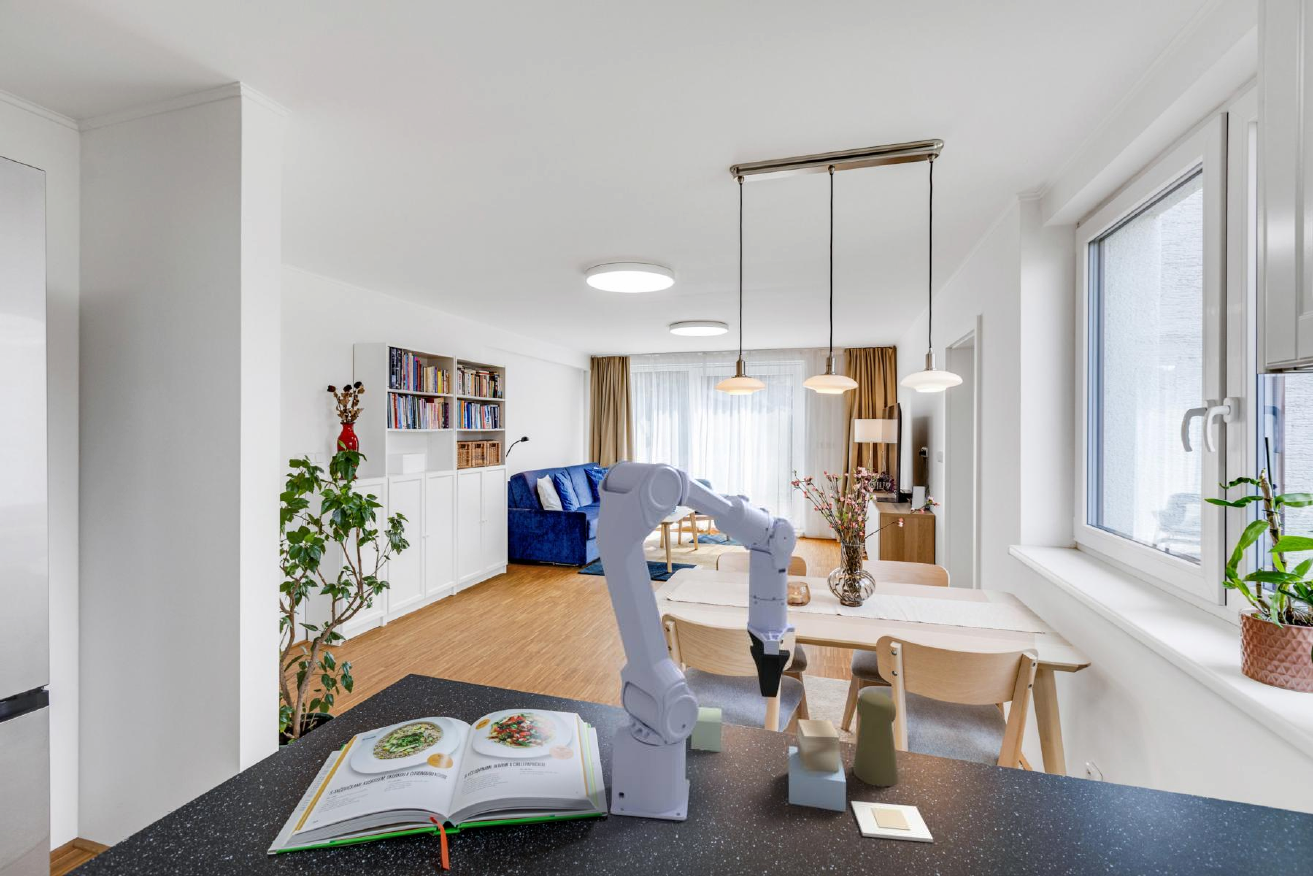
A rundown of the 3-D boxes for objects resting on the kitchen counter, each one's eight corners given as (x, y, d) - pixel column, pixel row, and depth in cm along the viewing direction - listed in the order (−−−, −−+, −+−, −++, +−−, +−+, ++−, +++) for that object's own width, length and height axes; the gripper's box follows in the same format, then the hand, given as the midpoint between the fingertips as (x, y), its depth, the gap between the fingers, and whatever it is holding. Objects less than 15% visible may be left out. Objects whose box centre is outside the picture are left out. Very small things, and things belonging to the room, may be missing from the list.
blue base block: (788, 805, 73) (789, 774, 73) (788, 774, 80) (789, 746, 80) (845, 813, 72) (845, 782, 72) (840, 781, 79) (840, 752, 79)
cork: (903, 789, 77) (904, 708, 77) (856, 783, 78) (857, 703, 78) (893, 764, 83) (894, 689, 83) (850, 759, 84) (851, 685, 84)
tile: (862, 835, 67) (862, 831, 67) (851, 804, 73) (851, 800, 73) (933, 842, 66) (933, 838, 66) (915, 809, 72) (915, 805, 72)
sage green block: (691, 750, 86) (691, 720, 86) (692, 735, 90) (693, 706, 90) (721, 752, 85) (721, 722, 85) (721, 737, 90) (721, 708, 90)
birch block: (804, 770, 74) (804, 736, 74) (797, 751, 79) (797, 719, 79) (838, 771, 74) (839, 737, 74) (830, 753, 79) (830, 720, 79)
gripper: (801, 610, 78) (800, 708, 78) (789, 584, 93) (788, 667, 93) (750, 608, 79) (748, 705, 79) (745, 582, 94) (744, 665, 94)
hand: (766, 685), depth 86 cm, fingers open, 7 cm apart
